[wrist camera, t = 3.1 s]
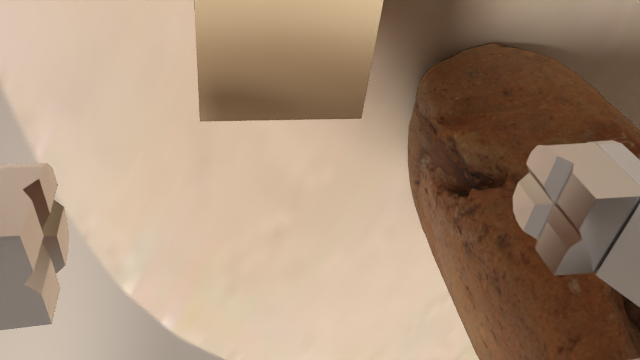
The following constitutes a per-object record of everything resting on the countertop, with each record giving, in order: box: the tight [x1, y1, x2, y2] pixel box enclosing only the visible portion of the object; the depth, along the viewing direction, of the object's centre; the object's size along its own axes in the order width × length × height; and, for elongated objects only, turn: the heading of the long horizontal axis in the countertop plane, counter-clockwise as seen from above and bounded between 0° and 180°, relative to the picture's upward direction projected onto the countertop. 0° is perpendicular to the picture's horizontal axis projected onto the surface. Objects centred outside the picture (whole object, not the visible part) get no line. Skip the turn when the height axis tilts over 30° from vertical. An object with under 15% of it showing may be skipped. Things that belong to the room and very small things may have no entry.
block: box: [408, 43, 640, 360], centre depth 19 cm, size 11×8×20 cm
